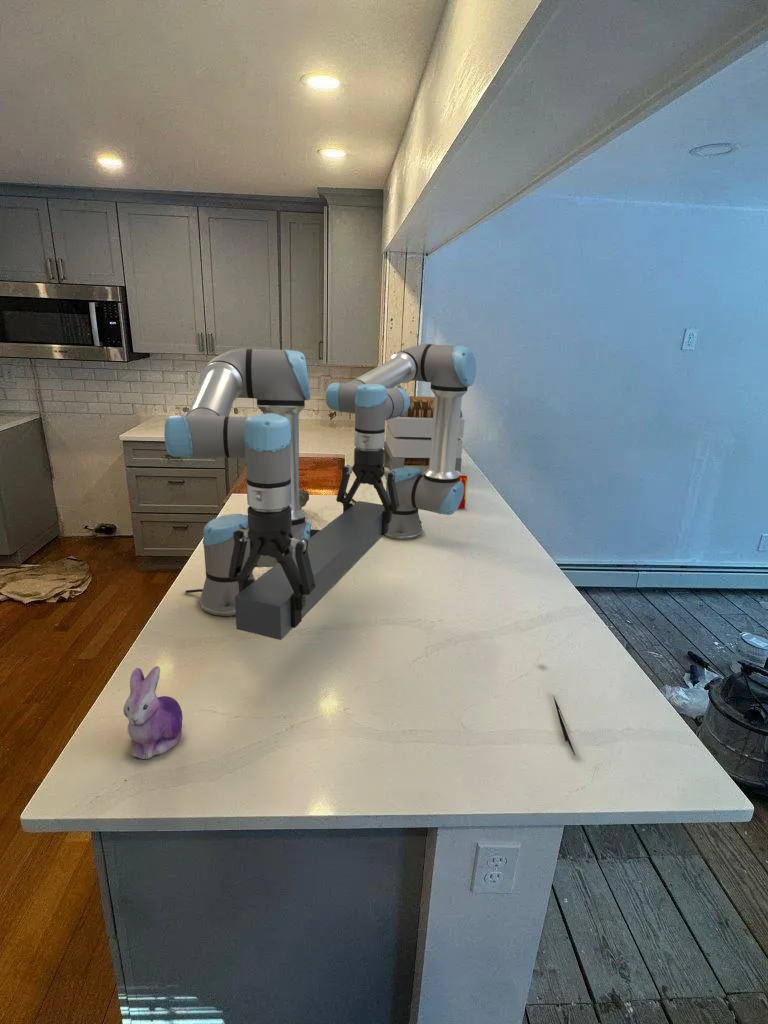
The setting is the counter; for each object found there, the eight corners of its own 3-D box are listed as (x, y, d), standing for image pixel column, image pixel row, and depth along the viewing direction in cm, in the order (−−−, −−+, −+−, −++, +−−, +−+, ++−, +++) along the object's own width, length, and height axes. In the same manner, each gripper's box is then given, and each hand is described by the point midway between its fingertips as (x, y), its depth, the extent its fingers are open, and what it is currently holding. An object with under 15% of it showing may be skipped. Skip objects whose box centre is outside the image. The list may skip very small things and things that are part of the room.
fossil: (278, 495, 221) (307, 474, 216) (294, 513, 224) (323, 493, 219) (262, 520, 201) (293, 498, 196) (280, 540, 204) (311, 518, 199)
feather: (542, 671, 128) (548, 665, 128) (575, 760, 102) (582, 753, 101) (536, 667, 128) (542, 661, 128) (567, 755, 102) (574, 748, 101)
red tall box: (459, 466, 252) (471, 476, 223) (457, 496, 255) (469, 509, 225) (432, 466, 252) (440, 475, 222) (430, 495, 254) (438, 509, 225)
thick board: (357, 523, 156) (358, 500, 153) (389, 529, 153) (390, 505, 151) (236, 629, 103) (234, 596, 101) (280, 640, 100) (280, 606, 98)
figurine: (131, 770, 95) (121, 695, 90) (126, 731, 103) (116, 661, 98) (190, 752, 99) (183, 680, 94) (180, 716, 108) (173, 648, 102)
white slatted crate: (382, 463, 289) (386, 382, 275) (445, 464, 293) (451, 384, 279) (390, 482, 257) (394, 392, 243) (460, 483, 261) (468, 394, 247)
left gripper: (202, 502, 98) (210, 615, 106) (317, 522, 92) (317, 641, 100) (227, 490, 105) (232, 597, 113) (336, 508, 99) (334, 620, 106)
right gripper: (322, 445, 142) (322, 529, 150) (406, 456, 135) (402, 542, 143) (335, 439, 148) (334, 519, 156) (415, 449, 142) (410, 532, 150)
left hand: (272, 618), depth 106 cm, fingers closed on thick board, 9 cm apart
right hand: (366, 530), depth 150 cm, fingers closed on thick board, 9 cm apart
